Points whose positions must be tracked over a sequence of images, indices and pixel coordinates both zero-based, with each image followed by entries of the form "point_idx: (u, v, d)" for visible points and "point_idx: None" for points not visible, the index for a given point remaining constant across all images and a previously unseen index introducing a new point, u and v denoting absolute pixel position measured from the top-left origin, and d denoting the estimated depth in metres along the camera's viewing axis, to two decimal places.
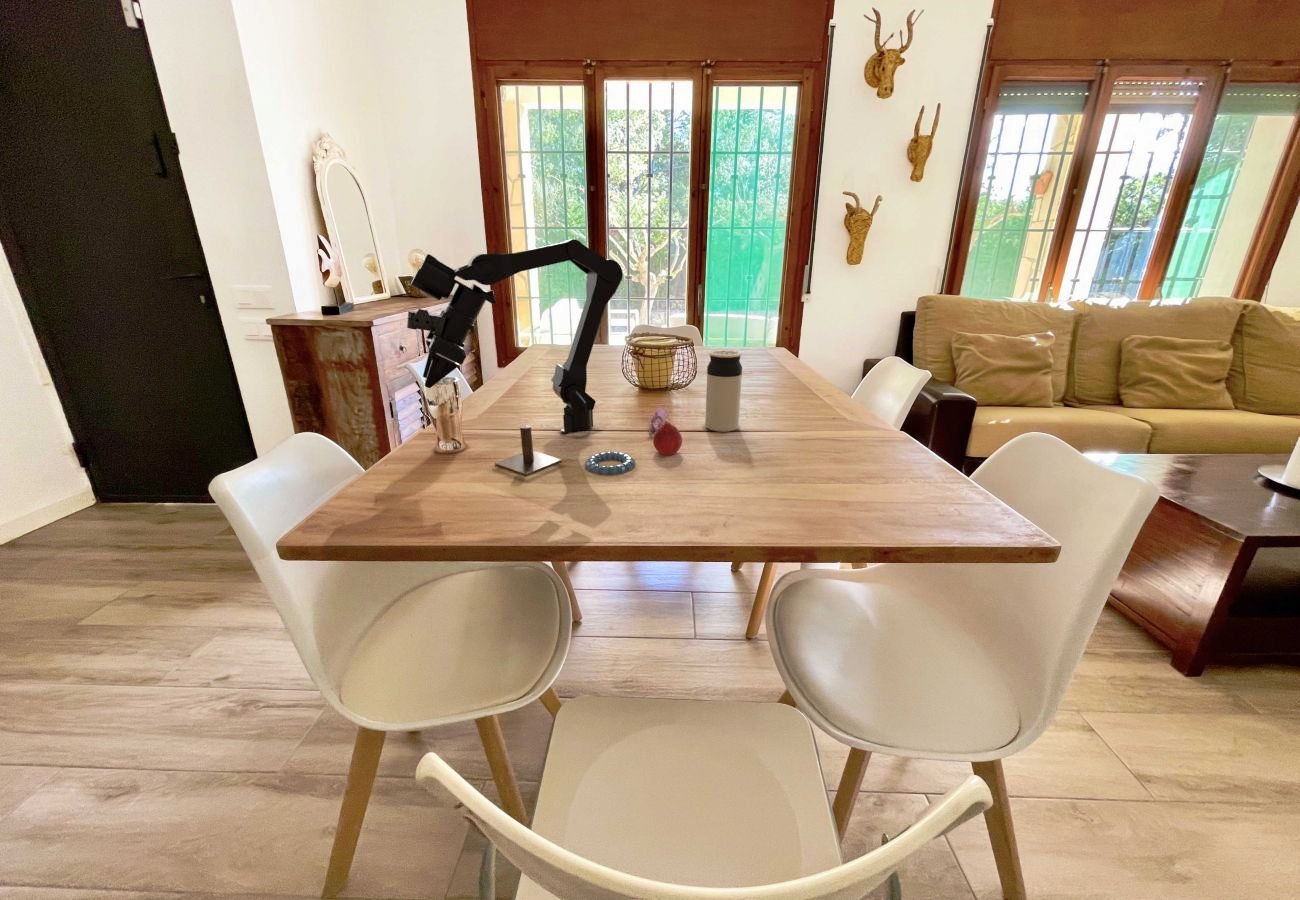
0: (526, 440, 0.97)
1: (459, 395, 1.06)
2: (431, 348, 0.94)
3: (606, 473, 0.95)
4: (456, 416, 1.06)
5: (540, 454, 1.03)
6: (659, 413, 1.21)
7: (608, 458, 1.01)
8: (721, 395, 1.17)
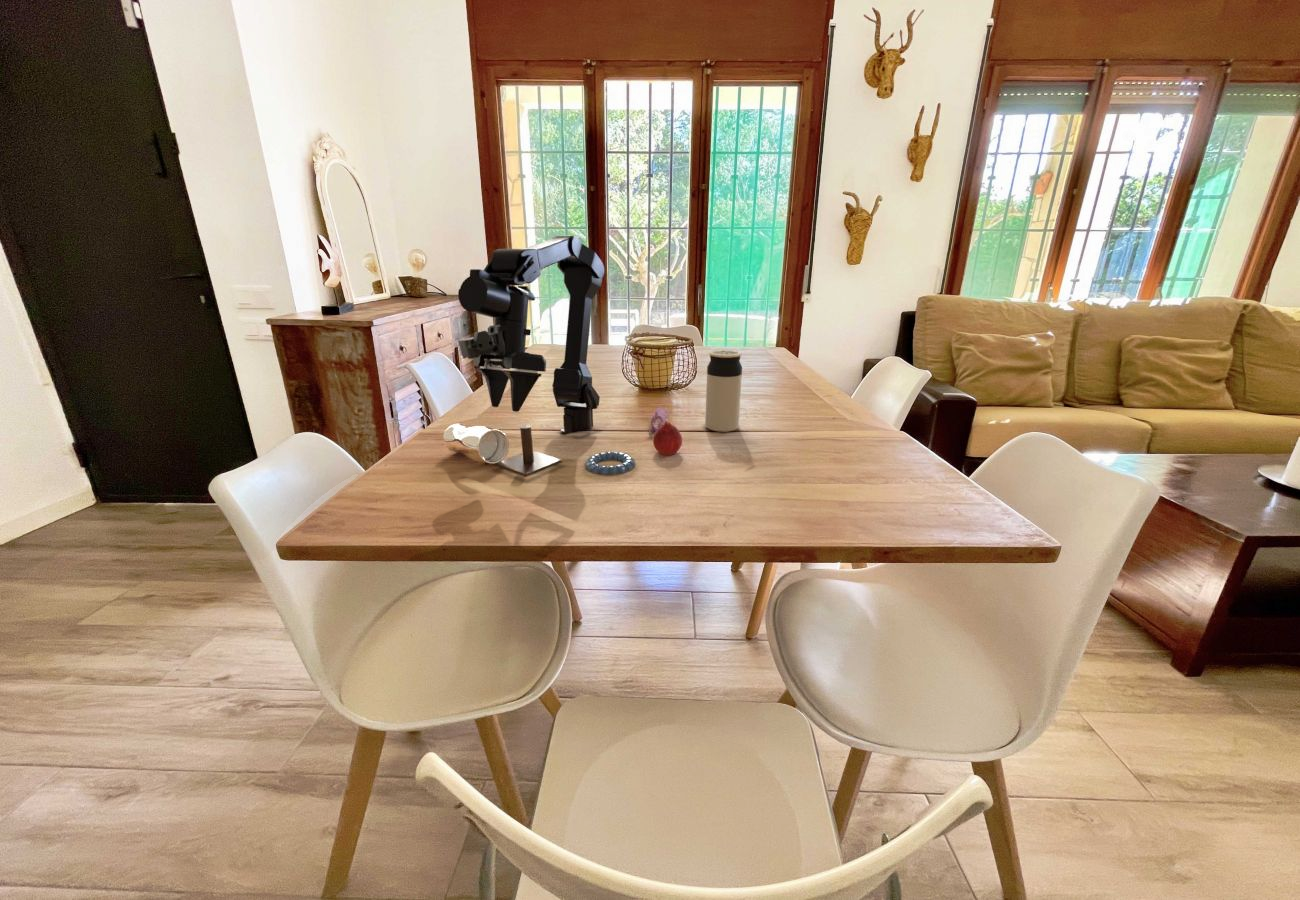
0: (526, 440, 0.97)
1: None
2: (513, 366, 0.84)
3: (606, 473, 0.95)
4: None
5: (540, 454, 1.03)
6: (659, 413, 1.21)
7: (608, 458, 1.01)
8: (721, 395, 1.17)
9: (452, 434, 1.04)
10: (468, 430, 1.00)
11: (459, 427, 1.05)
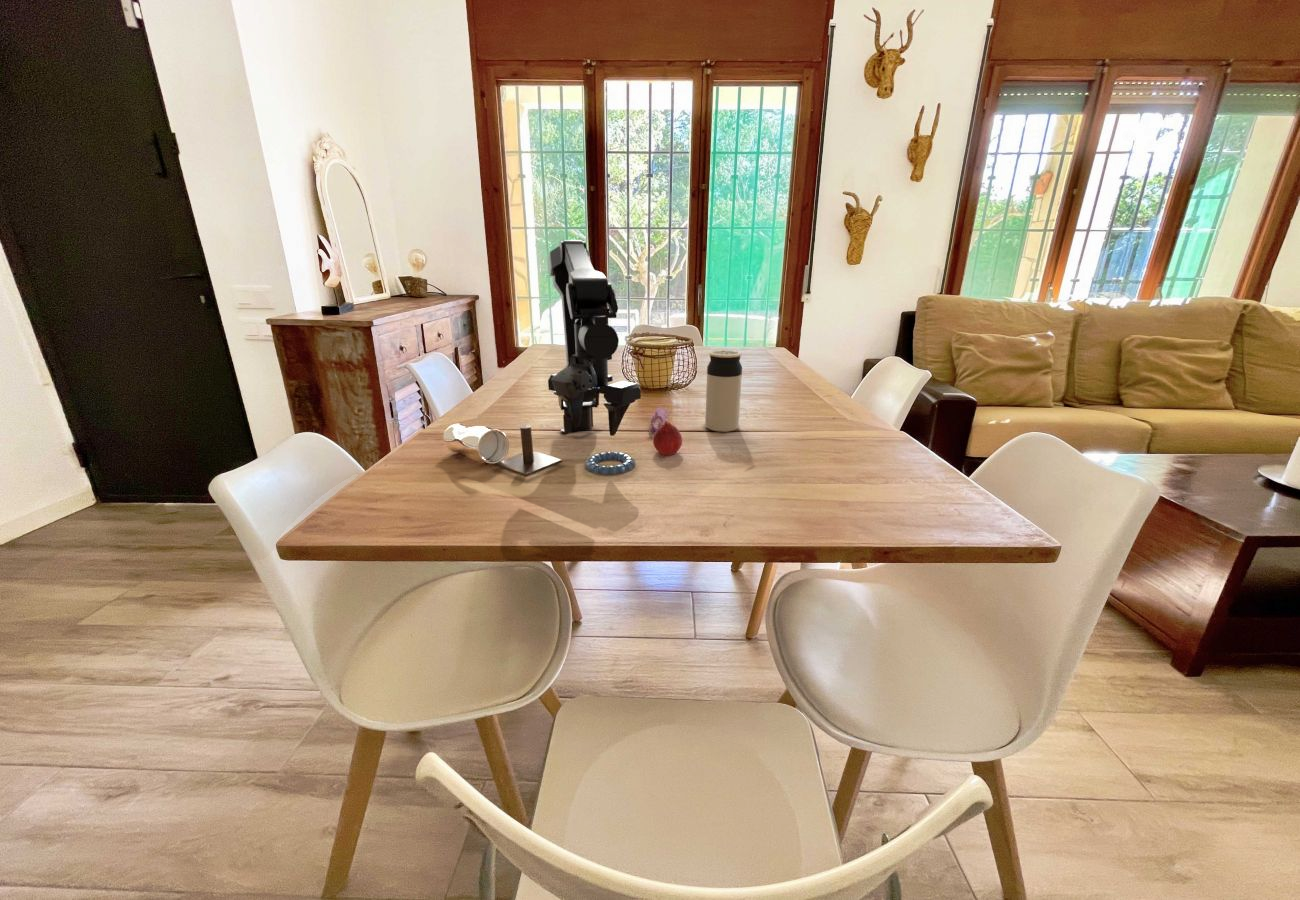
0: (526, 440, 0.97)
1: None
2: (619, 403, 0.89)
3: (606, 473, 0.95)
4: None
5: (540, 454, 1.03)
6: (659, 413, 1.21)
7: (608, 458, 1.01)
8: (721, 395, 1.17)
9: (452, 434, 1.04)
10: (468, 430, 1.00)
11: (459, 427, 1.05)
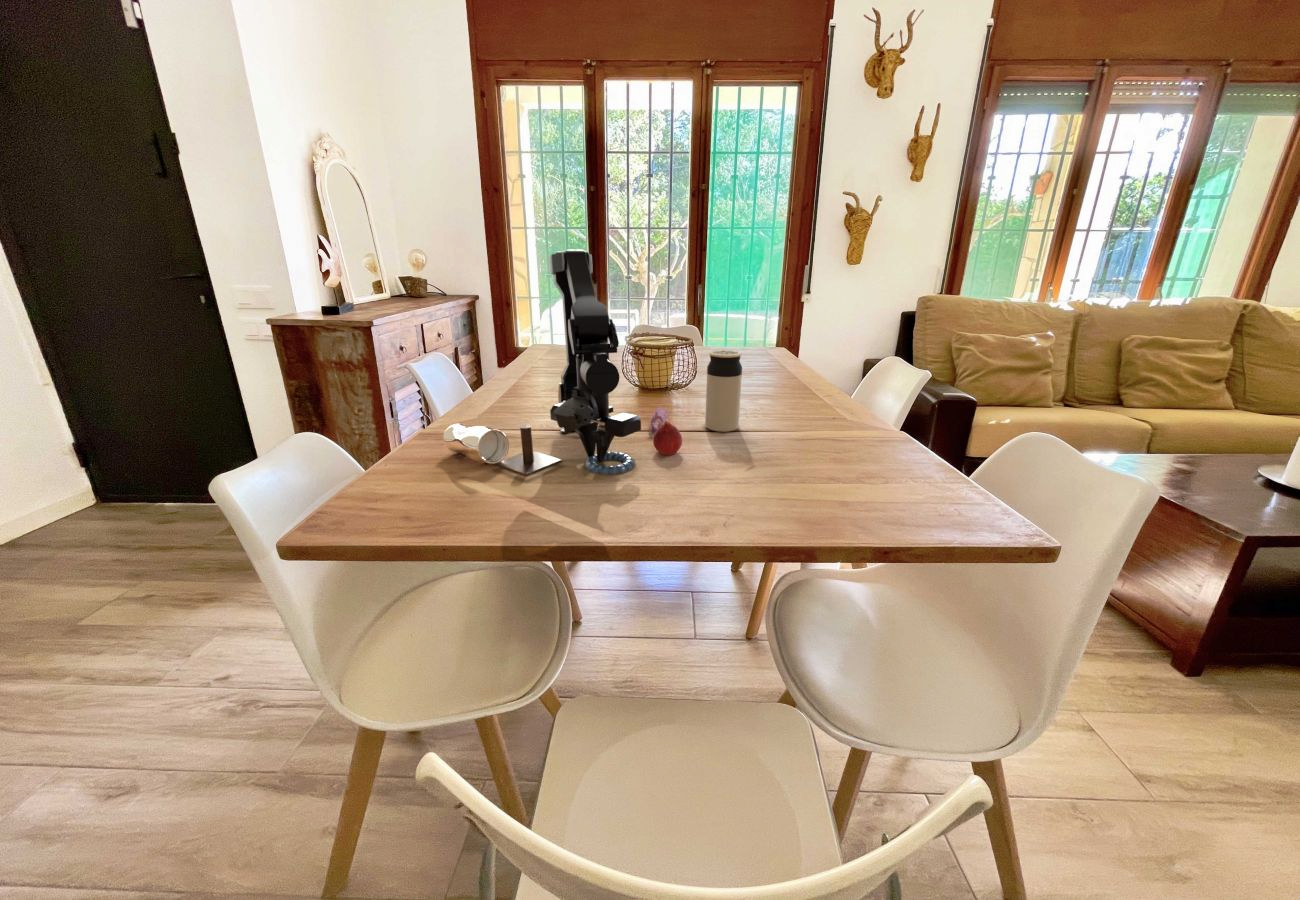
0: (526, 440, 0.97)
1: None
2: (620, 435, 0.91)
3: (606, 473, 0.95)
4: None
5: (540, 454, 1.03)
6: (659, 413, 1.21)
7: (608, 458, 1.01)
8: (721, 395, 1.17)
9: (452, 434, 1.04)
10: (468, 430, 1.00)
11: (459, 427, 1.05)
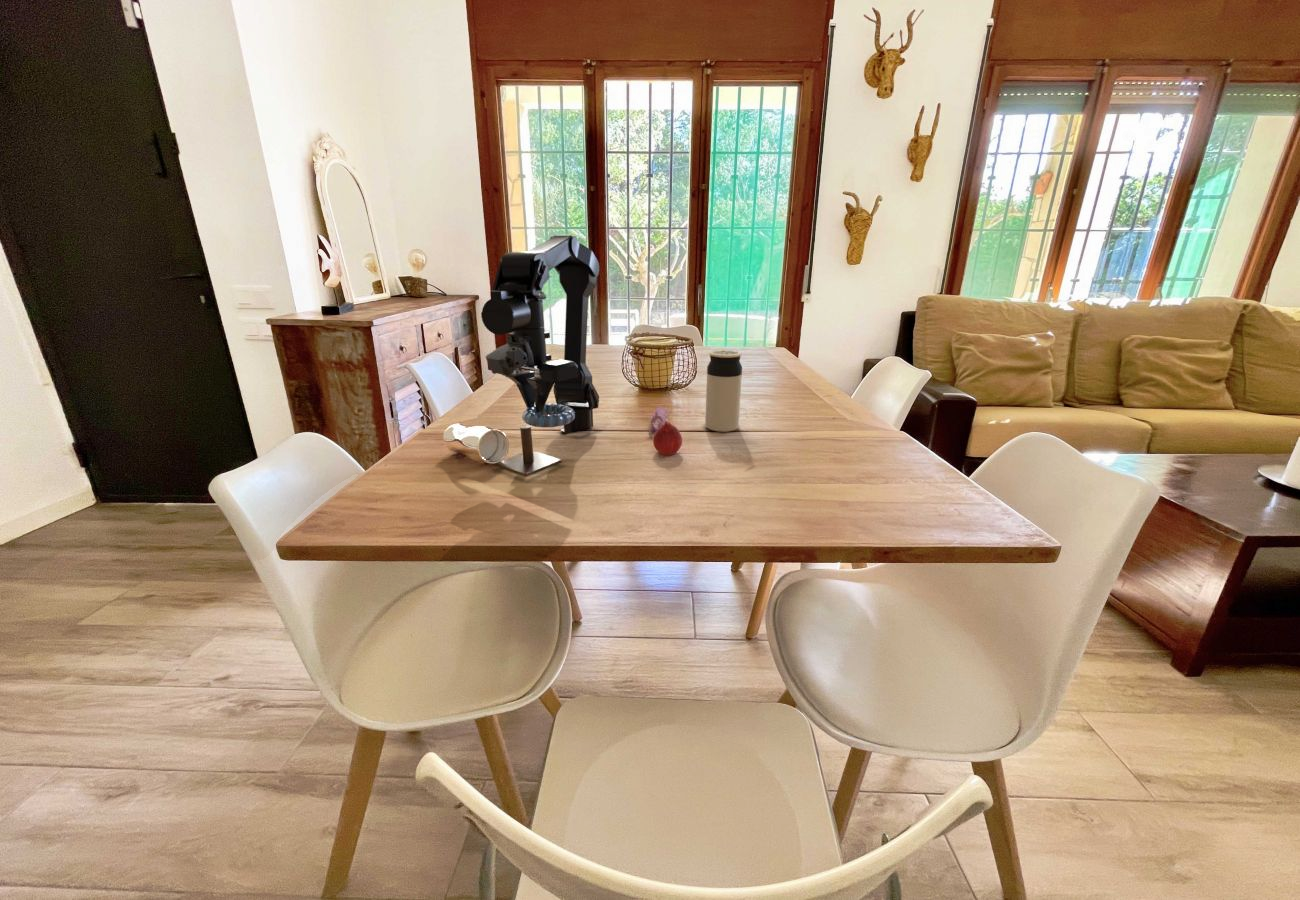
0: (526, 440, 0.97)
1: None
2: (554, 380, 0.88)
3: (542, 422, 0.92)
4: None
5: (540, 454, 1.03)
6: (659, 413, 1.21)
7: (548, 410, 0.98)
8: (721, 395, 1.17)
9: (452, 434, 1.04)
10: (468, 430, 1.00)
11: (459, 427, 1.05)
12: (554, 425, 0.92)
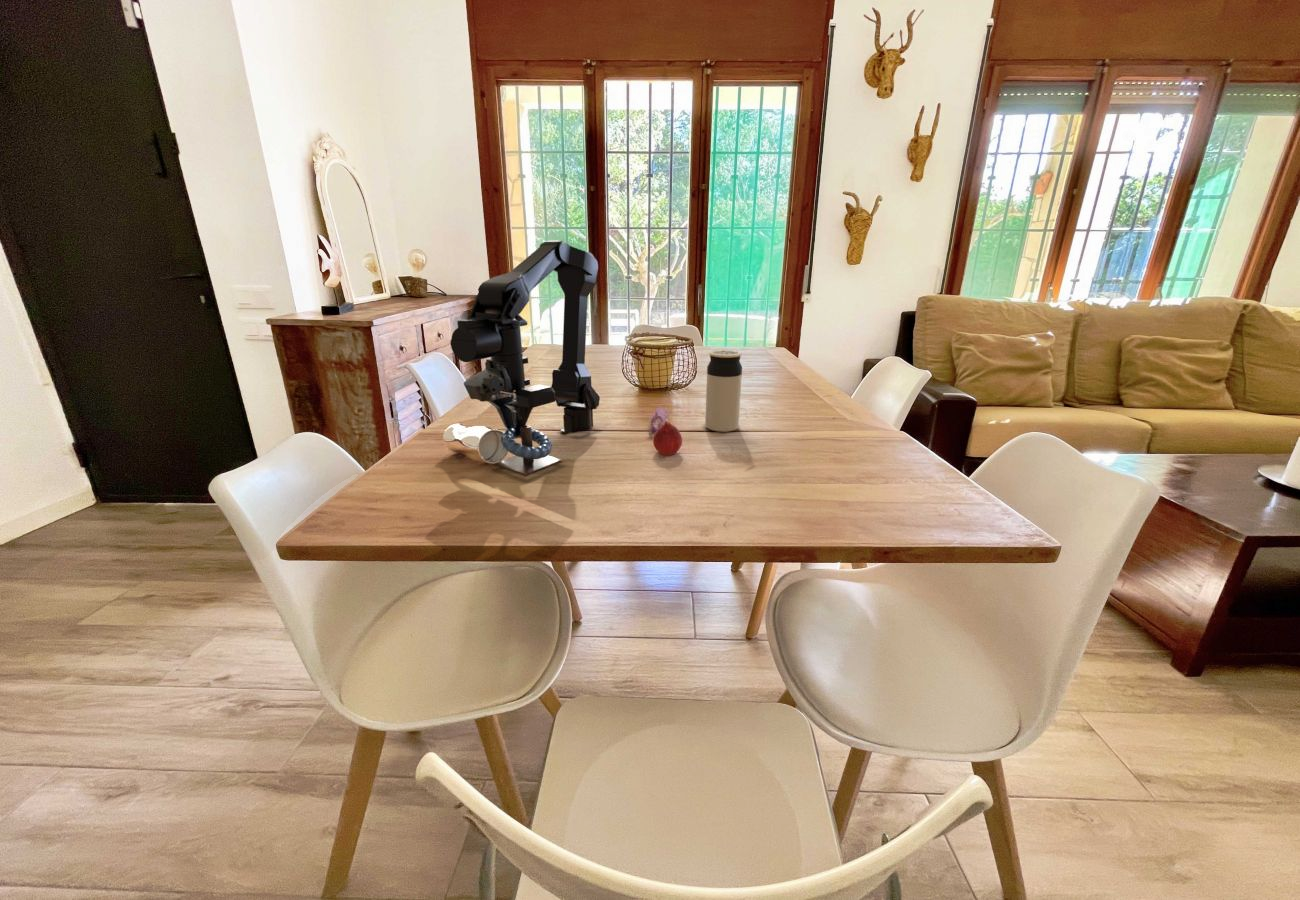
0: (526, 440, 0.97)
1: None
2: (530, 406, 0.90)
3: (518, 452, 0.94)
4: None
5: None
6: (659, 413, 1.21)
7: None
8: (721, 395, 1.17)
9: (452, 434, 1.04)
10: (468, 430, 1.00)
11: (459, 427, 1.05)
12: (529, 458, 0.95)
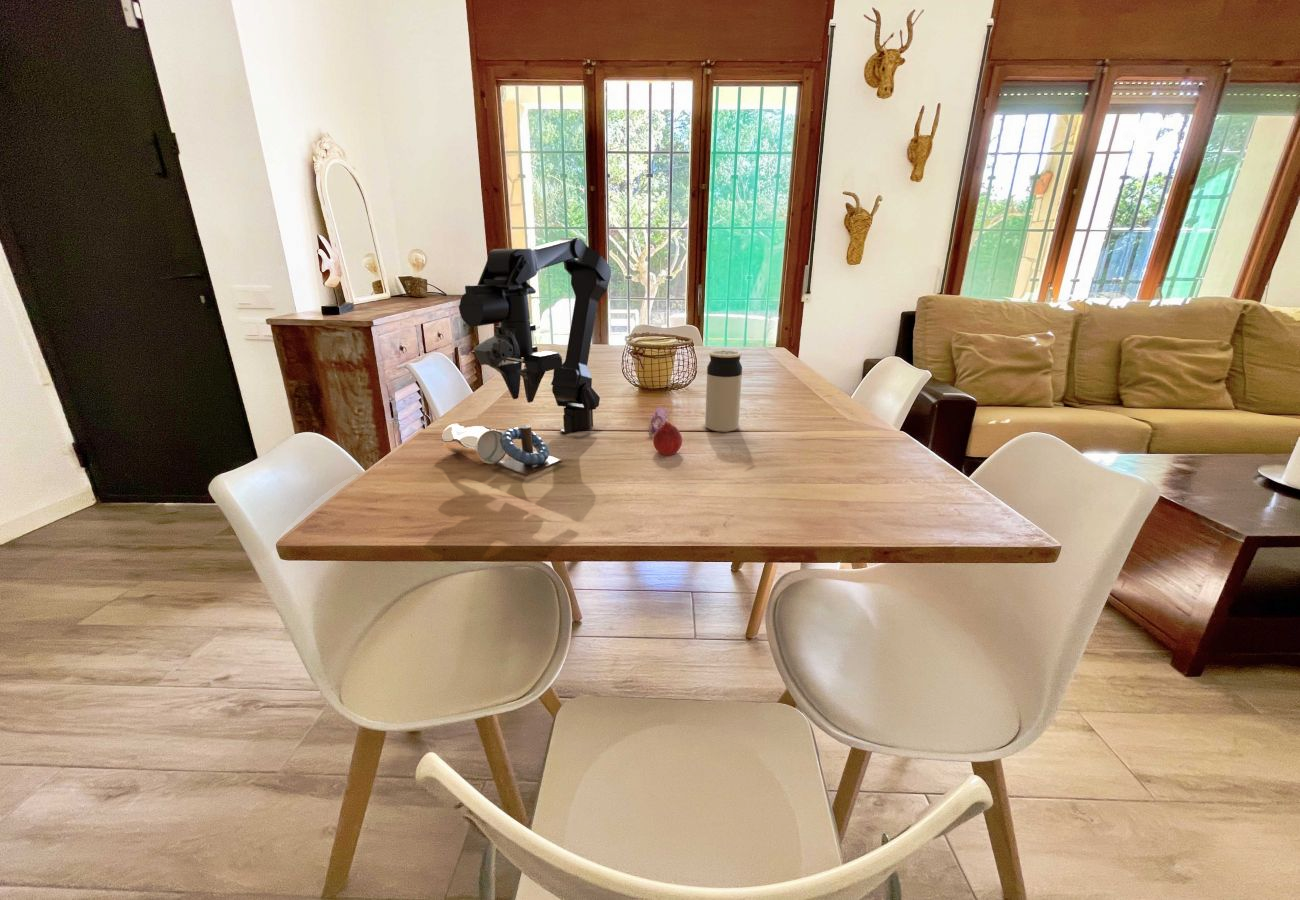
0: (526, 440, 0.97)
1: None
2: (539, 370, 0.93)
3: (518, 457, 0.94)
4: None
5: None
6: (659, 413, 1.21)
7: None
8: (721, 395, 1.17)
9: (450, 434, 1.04)
10: (466, 431, 1.00)
11: (457, 427, 1.05)
12: (527, 464, 0.96)
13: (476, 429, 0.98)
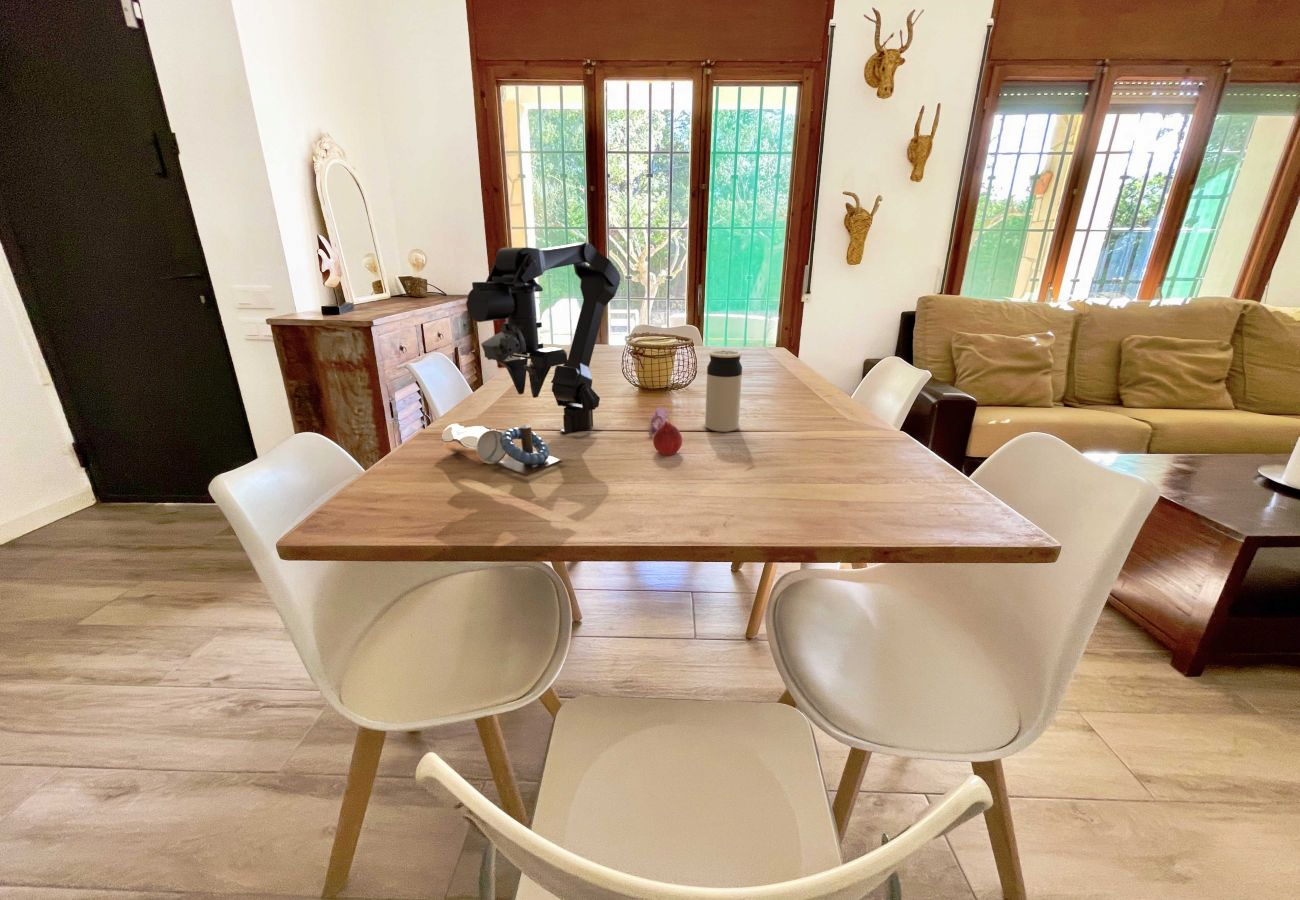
0: (526, 440, 0.97)
1: None
2: (544, 366, 0.95)
3: (518, 457, 0.94)
4: None
5: None
6: (659, 413, 1.21)
7: None
8: (721, 395, 1.17)
9: (450, 434, 1.04)
10: (466, 431, 1.00)
11: (457, 427, 1.05)
12: (527, 464, 0.96)
13: (476, 429, 0.98)
